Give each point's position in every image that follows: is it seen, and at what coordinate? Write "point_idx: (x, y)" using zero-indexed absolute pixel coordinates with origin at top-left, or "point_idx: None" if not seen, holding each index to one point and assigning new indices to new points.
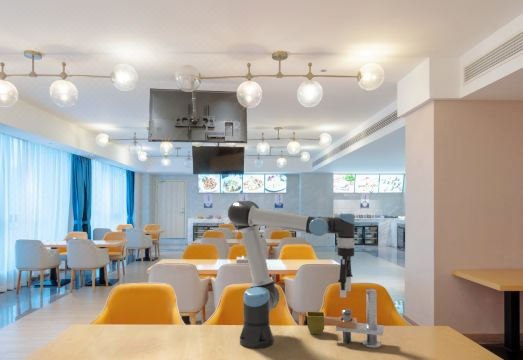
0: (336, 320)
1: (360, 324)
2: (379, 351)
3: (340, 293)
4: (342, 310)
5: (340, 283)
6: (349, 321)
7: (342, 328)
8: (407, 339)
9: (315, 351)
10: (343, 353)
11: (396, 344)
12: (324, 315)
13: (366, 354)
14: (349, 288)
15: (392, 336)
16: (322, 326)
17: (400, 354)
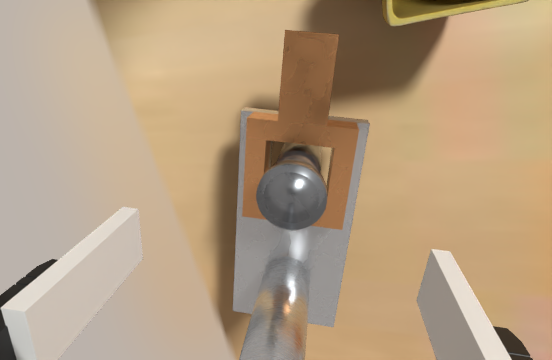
0: (279, 115)
1: (325, 232)
2: (230, 255)
3: (102, 229)
4: (281, 171)
5: (17, 300)
6: (256, 191)
7: (240, 144)
8: (386, 352)
9: (142, 14)
10: (164, 134)
11: None
12: (428, 14)
13: (185, 213)
14: (428, 312)
15: (415, 313)
16: (382, 9)
17: (223, 310)
